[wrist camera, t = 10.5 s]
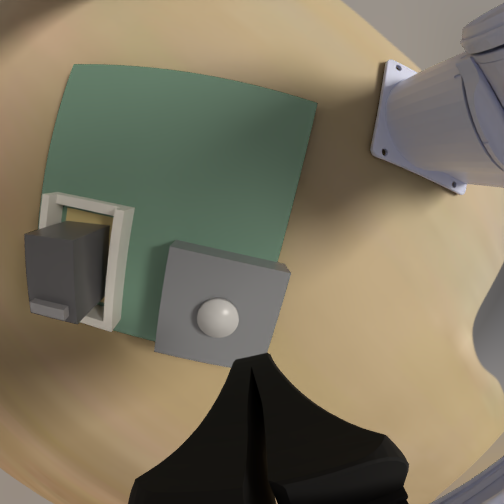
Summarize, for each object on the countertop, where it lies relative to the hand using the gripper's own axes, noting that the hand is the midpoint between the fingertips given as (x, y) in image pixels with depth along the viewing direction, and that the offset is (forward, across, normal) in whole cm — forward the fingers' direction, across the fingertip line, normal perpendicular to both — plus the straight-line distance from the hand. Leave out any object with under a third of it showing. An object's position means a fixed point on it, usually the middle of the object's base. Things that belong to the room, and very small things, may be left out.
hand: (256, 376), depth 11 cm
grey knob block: (+10, +2, 0) cm, 10 cm away
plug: (+9, +10, -5) cm, 14 cm away
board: (+10, +4, -7) cm, 13 cm away
